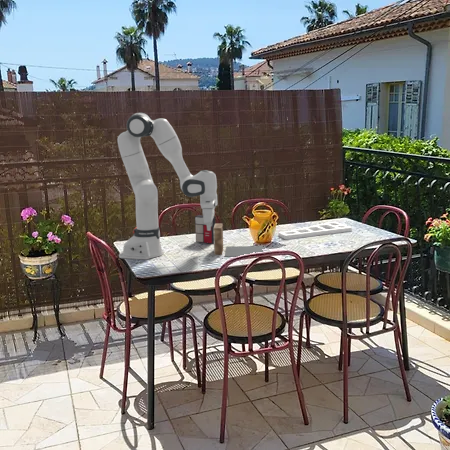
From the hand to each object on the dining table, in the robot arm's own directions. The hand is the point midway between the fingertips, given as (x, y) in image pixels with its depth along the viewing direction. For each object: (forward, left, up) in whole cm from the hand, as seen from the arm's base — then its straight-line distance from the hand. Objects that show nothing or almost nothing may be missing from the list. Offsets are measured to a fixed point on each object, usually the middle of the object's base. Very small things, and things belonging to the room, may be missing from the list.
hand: (209, 228), depth 244 cm
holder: (+57, +41, -14) cm, 72 cm away
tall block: (+4, 0, -13) cm, 14 cm away
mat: (+18, 0, -13) cm, 22 cm away
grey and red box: (-5, +19, -13) cm, 23 cm away
